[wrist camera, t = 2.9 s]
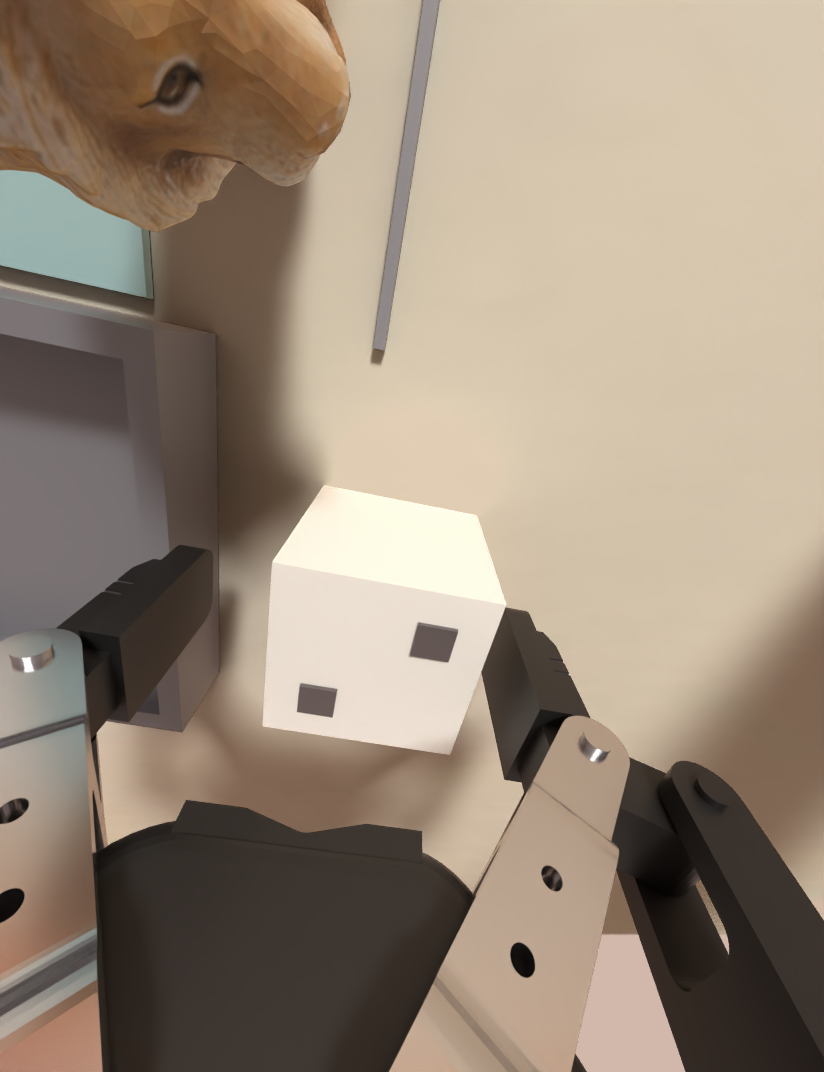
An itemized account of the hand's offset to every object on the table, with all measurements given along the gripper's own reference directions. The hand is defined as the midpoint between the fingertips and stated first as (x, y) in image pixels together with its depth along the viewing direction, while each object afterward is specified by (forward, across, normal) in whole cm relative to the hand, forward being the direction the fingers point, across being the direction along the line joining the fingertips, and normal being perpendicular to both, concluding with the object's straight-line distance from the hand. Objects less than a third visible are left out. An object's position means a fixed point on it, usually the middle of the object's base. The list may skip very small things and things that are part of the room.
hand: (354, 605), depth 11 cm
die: (+3, -1, 0) cm, 3 cm away
